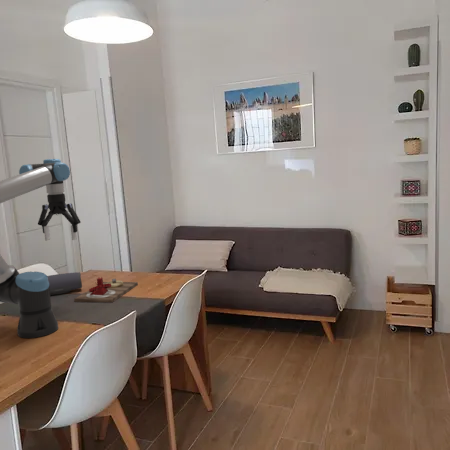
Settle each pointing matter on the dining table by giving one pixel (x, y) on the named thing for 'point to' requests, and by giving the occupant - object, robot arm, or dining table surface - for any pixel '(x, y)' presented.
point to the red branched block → (100, 288)
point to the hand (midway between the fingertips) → (60, 239)
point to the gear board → (108, 292)
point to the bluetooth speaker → (64, 282)
